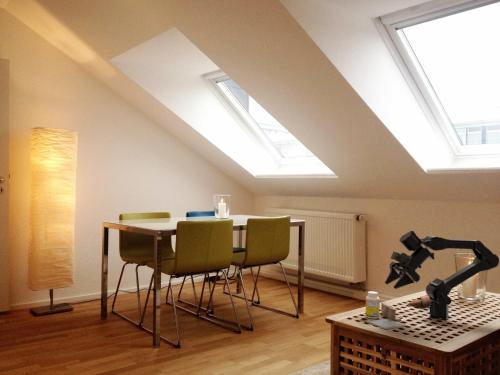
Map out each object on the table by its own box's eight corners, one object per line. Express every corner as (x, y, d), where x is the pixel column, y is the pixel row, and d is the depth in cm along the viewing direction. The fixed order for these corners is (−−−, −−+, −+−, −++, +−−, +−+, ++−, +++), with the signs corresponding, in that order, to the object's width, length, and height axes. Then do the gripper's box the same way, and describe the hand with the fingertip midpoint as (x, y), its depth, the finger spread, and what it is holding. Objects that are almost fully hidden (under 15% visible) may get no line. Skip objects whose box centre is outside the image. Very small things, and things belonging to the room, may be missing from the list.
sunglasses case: (423, 299, 235) (431, 288, 233) (435, 309, 231) (443, 298, 229) (405, 304, 223) (412, 293, 220) (417, 315, 218) (425, 304, 216)
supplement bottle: (369, 314, 203) (369, 290, 203) (381, 317, 200) (382, 292, 200) (362, 317, 199) (363, 292, 199) (375, 319, 195) (376, 294, 195)
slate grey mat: (386, 320, 195) (386, 318, 195) (405, 326, 187) (405, 325, 187) (367, 322, 191) (367, 321, 191) (385, 329, 182) (385, 327, 182)
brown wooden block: (381, 313, 206) (381, 302, 206) (389, 313, 206) (389, 302, 206) (392, 321, 194) (392, 309, 194) (401, 321, 194) (401, 309, 194)
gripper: (394, 242, 210) (368, 268, 209) (413, 247, 191) (385, 275, 190) (411, 261, 211) (386, 286, 210) (432, 268, 192) (404, 296, 191)
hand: (389, 285), depth 200 cm, fingers open, 9 cm apart
